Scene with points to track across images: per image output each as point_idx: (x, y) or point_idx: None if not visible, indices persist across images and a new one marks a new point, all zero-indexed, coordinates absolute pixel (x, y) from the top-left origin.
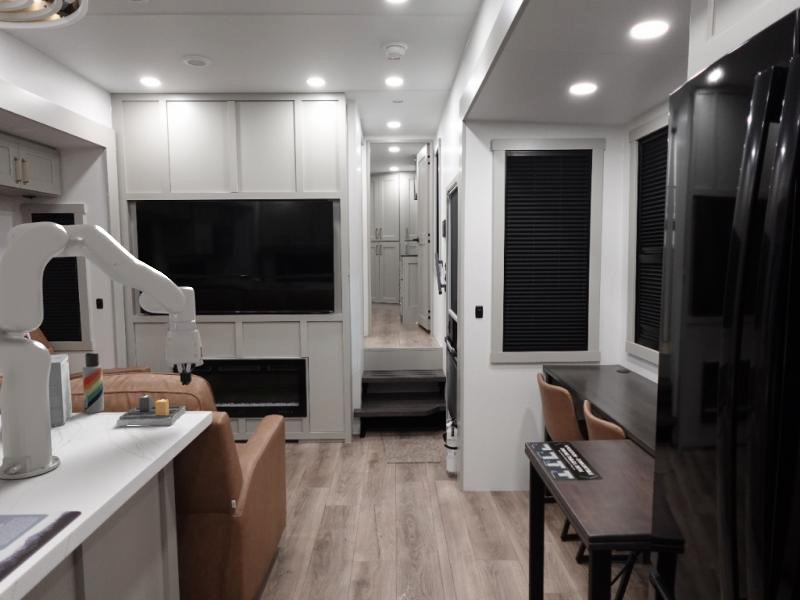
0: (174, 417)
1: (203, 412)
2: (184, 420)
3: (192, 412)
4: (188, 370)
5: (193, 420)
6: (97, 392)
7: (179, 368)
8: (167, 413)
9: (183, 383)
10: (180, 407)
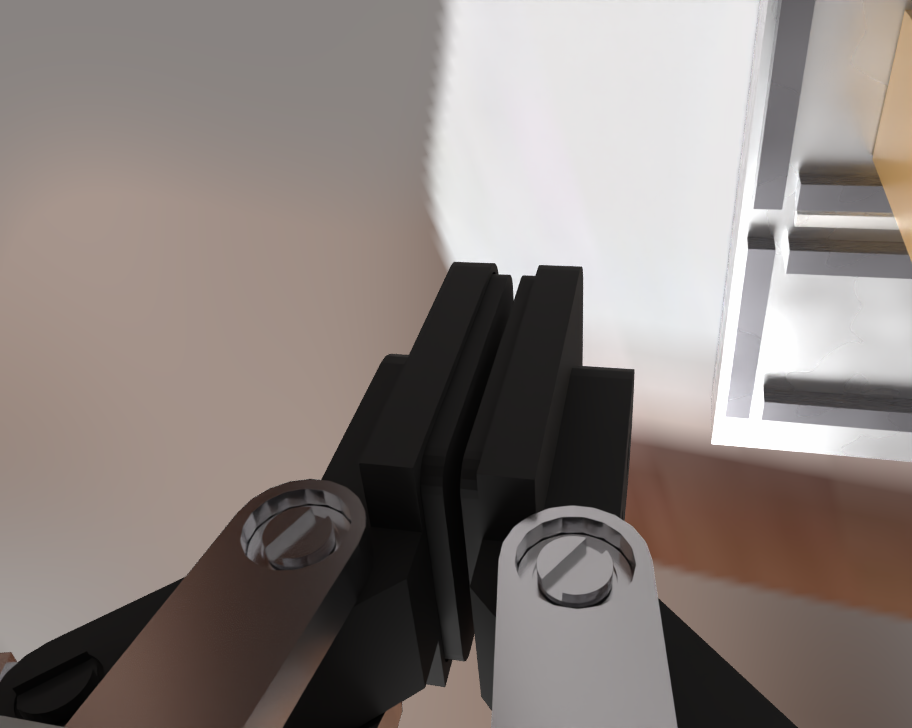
0: (764, 15)
1: None
2: (644, 79)
3: None
4: (290, 542)
5: (526, 65)
6: None
7: (587, 650)
8: (890, 96)
9: (539, 282)
10: (745, 351)
